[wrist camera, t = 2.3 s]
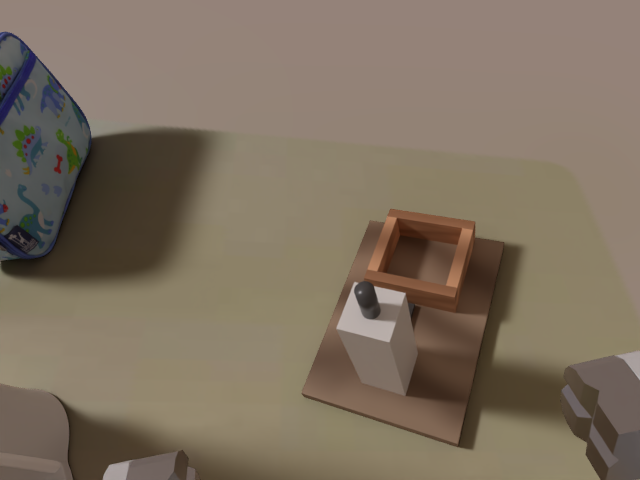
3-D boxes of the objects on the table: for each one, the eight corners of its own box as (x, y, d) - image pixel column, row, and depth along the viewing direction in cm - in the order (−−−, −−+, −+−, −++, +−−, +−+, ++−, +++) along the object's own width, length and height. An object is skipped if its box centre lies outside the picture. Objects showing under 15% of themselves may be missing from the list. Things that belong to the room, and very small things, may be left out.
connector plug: (405, 395, 43) (383, 322, 32) (361, 382, 45) (326, 309, 34) (417, 353, 45) (401, 271, 34) (375, 342, 47) (346, 260, 36)
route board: (458, 447, 41) (456, 433, 38) (304, 396, 47) (292, 381, 43) (503, 248, 51) (505, 224, 48) (371, 225, 56) (365, 203, 53)
